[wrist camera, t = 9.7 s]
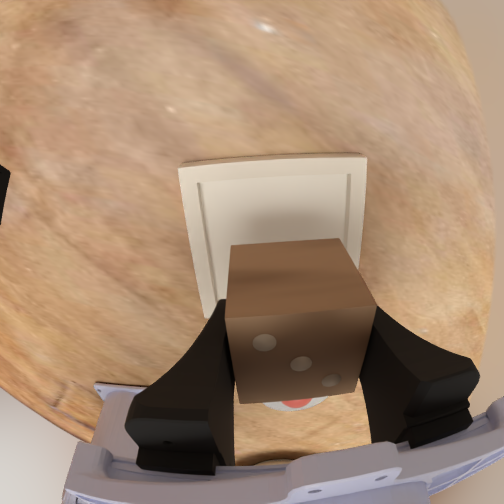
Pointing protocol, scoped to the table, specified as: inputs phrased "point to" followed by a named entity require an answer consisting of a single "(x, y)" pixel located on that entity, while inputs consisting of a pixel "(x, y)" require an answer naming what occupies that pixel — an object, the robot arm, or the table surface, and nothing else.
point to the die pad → (268, 207)
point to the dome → (295, 404)
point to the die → (296, 320)
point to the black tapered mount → (3, 187)
